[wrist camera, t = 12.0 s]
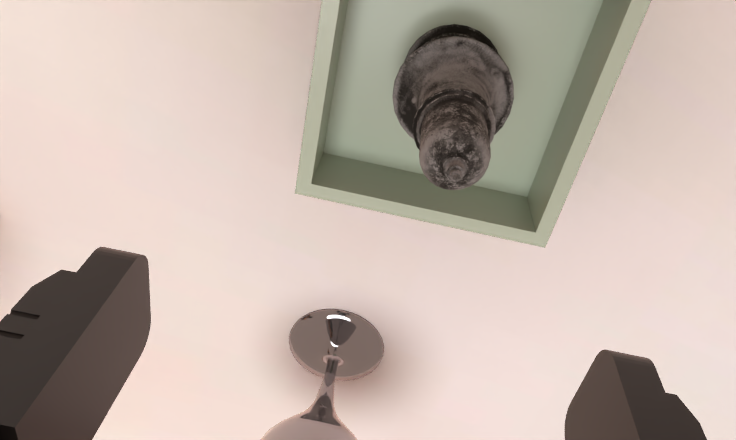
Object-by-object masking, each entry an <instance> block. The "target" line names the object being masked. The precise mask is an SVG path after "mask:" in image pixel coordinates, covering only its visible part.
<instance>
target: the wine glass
mask: <svg viewBox="0 0 736 440" xmlns="http://www.w3.org/2000/svg"><path fill="white" fill-rule="evenodd" d="M289 344H290V349H291V351H292V354H293V356H294V357H295V359H296V360H297V361H298V362H299V363H300V364H301V365H302V366H303V367H304V368H305V369H307V370H308V371H310V372H311V373H313V374H315V375H318V376H320V377H323V381H322V384H321V387H320V389H319V392H318V394H317V397H316V399H315V401H314V402H313V404H312V405H311V406H310V407H309V408H308V409H306V410H305V411H304V412H301V413H299V414H297V415H294V416H292V417H290V418H287V419H285V420H283V421H281V422H280V423H278V424H277V425H275V426H274V427H272V428H271V429H269V430H268V431H267V432H266V433H265V435H264V436H263V437H262V438H261V439H260V440H357V438H356V437H355V435H354V434H353V433H352V432H351V431H350V430H349V429H348V428H347V427H346V426H345V425H344V423H343V422H342V421H341V420H340V419H339V418H338V416H337V414H336V412H335V409H334V383H335V380H342V381H346V380H354V379H358V378H361V377H363V376H366V375H367V374H369V373H371V372H372V371H373V370H374V369H375V368H376V367H377V366H378V365H379V363H380V362H381V360H382V357H383V353H384V345H383V341H382V338H381V336H380V334H379V333H378V331H377V330H376V329H375V327H374V326H373V325H372V324H370V323H369V322H368V321H367V320H365V319H364V318H362V317H360V316H358V315H356V314H354V313H351V312H347V311H344V310H337V309H324V310H318V311H314V312H311V313H309V314H307V315H305V316H303V317H302V318H300V319H299V320H298V321H297V322H296V323H295V324H294V326H293V328H292V329H291V332H290V336H289Z"/></svg>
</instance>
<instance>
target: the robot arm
mask: <svg viewBox="0 0 736 440" xmlns="http://www.w3.org/2000/svg"><path fill="white" fill-rule="evenodd" d="M150 323H151V313H150V290H149V268H148V260H147V258H146V256H144V255H140V254H135V253H130V252H126V251H121V250H116V249H111V248H106V247H99V248H97V249H96V250H95V251H94V252H93V253H92V254H91V256H90V257H89V258H88V259H87V260H86V262H85V263H84V264H83V265H82V266H81V268H80V269H79V270H78V271H77V272H71V271H66V270H60V271H58V272H57V273H55V274H53V275H52V276H50V277H48V278H46V279H45V280H43V281H41V282H39V283H38V284H36V285H34V286H32V287H31V288H30V289H29V291H28V292H27V293H26V294H25V295H24V296H23V297H22V298H21V299H20V300H19V302H18V303H17V304H16V305H15V306H14V307H13V308H12V309H11V313H10V315H8V314H7V315H6V316H5V317H4V318H3V319H2V320H1V322H0V440H92V439H93V437H94V435H95V434H96V432H97V430H98V428H99V427H100V425H101V423H102V421H103V420H104V418H105V416H106V415H107V413H108V411H109V409H110V408H111V406H112V404H113V402H114V401H115V399H116V397H117V395H118V394H119V392H120V390H121V389H122V387H123V385H124V383H125V382H126V380H127V378H128V376H129V375H130V373H131V371H132V370H133V368H134V366H135V364H136V363H137V361H138V359H139V357H140V356H141V354H142V352H143V350H144V347H145V345H146V342H147V339H148V335H149V330H150ZM565 440H707V439H706V437H705V434H704V432H703V430H702V427H701V425H700V423H699V422H698V420H697V419H696V418H695V417H694V416H693V414H692V413H691V412H690V411H689V409H688V408H687V407H686V406H685V405H684V403H683V402H682V401H681V400H680V399H679V397H678V396H677V395H674V394H669V393H665V391H664V388H663V386H662V383H661V381H660V378H659V376H658V373H657V371H656V368H655V366H654V364H653V363H652V361H651V360H650V359H648V358H644V357H639V356H634V355H629V354H624V353H619V352H614V351H610V350H602V351H601V352H599V354H598V355H597V356H596V358H595V360H594V361H593V363H592V365H591V367H590V369H589V371H588V372H587V374H586V376H585V378H584V380H583V381H582V383H581V385H580V387H579V389H578V391H577V392H576V394H575V396H574V398H573V400H572V401H571V403H570V405H569V408H568V411H567V415H566V420H565Z"/></svg>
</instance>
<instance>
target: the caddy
mask: <svg viewBox="0 0 736 440" xmlns="http://www.w3.org/2000/svg"><path fill="white" fill-rule="evenodd" d="M650 2H651V0H322V3H321V11H320V18H319V25H318V32H317V39H316V46H315V53H314V61H313V68H312V75H311V82H310V89H309V96H308V103H307V111H306V118H305V125H304V132H303V139H302V146H301V153H300V161H299V168H298V175H297V182H296V189H295V194H300V195H305V196H309V197H314V198H318V199H323V200H328V201H332V202H337V203H342V204H346V205H351V206H355V207H360V208H365V209H369V210H374V211H378V212H383V213H388V214H392V215H397V216H401V217H406V218H411V219H415V220H420V221H424V222H429V223H434V224H438V225H443V226H448V227H452V228H457V229H461V230H466V231H471V232H475V233H480V234H484V235H489V236H494V237H498V238H503V239H507V240H512V241H517V242H521V243H526V244H530V245H535V246H540V247H544V248H545V247H546V244H547V242H548V240H549V237H550V235H551V233H552V230H553V228H554V226H555V223H556V221H557V219H558V217H559V214H560V212H561V210H562V207H563V205H564V203H565V200H566V198H567V196H568V193H569V191H570V189H571V186H572V184H573V182H574V179H575V177H576V175H577V172H578V170H579V168H580V165H581V163H582V161H583V158H584V156H585V154H586V151H587V149H588V147H589V144H590V142H591V140H592V137H593V135H594V133H595V130H596V128H597V126H598V123H599V121H600V119H601V116H602V114H603V112H604V109H605V107H606V105H607V102H608V100H609V98H610V95H611V93H612V91H613V88H614V86H615V84H616V81H617V79H618V77H619V74H620V72H621V70H622V67H623V65H624V63H625V61H626V58H627V56H628V54H629V51H630V49H631V47H632V44H633V42H634V40H635V37H636V35H637V33H638V30H639V28H640V26H641V23H642V21H643V19H644V16H645V14H646V12H647V9H648V7H649V5H650ZM451 24H458V25H465V26H469V27H471V28H474V29H476V30H478V31H480V32H481V33H483V34H484V35H485V36H486V37H487V38H489V39H490V40H491V42H492V43H493V45H494V46H495V48H496V49H497V51H498V54H499V55H500V56H501V58H502V59H503V61H504V62H505V63H506V65H507V66H508V68H509V71H510V74H511V77H512V80H513V83H514V100H513V104H512V108H511V112H510V115H509V116H508V118H507V120H506V122H505V123H504V125H503V127H502V128H501V129H500V130H499V131H498V132H497V133H496V134H495V135H494V138H493V141H492V142H491V144H490V148H491V158H490V162H489V166H488V169H487V170H486V172H485V174H484V176H483V177H482V178H481V179H480V180H479V181H478V182H476V183H475V184H473V185H472V186H470V187H467V188H464V189H460V190H447V189H443V188H440V187H437V186H435V185H434V184H433V183H431V182H430V181H429V180H428V179H427V178H426V176H425V175H424V173H423V171H422V168H421V166H420V161H419V149H418V148H417V146H416V143H415V141H414V139H413V138H411V137H410V136H409V135H408V134H407V133H406V131H405V130H404V129H403V128H402V126H401V125H400V123H399V121H398V118H397V116H396V114H395V112H394V105H393V98H392V95H393V88H394V81H395V79H396V76H397V74H398V72H399V69H400V67H401V66H402V64H403V63H404V61H405V58H406V56H407V54H408V51H409V49H410V48H411V47H412V45H413V44H414V43H415V42H416V40H417V39H418V38H420V37H421V36H422V35H424V34H425V33H426V32H428V31H429V30H432V29H434V28H437V27H439V26H443V25H451Z"/></svg>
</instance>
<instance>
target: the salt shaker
mask: <svg viewBox="0 0 736 440" xmlns="http://www.w3.org/2000/svg"><path fill="white" fill-rule="evenodd" d="M392 98H393V105H394V112H395V114H396V116H397V118H398V121H399V123H400V125H401V126H402V128H403V129H404V130H405V131H406V133H407V134H408V135H409V136H410V137H411V138H413V139H414V141H415V143H416V146H417V148H418V149H419V161H420V166H421V168H422V171H423V173H424V175H425V176H426V178H427V179H428V180H429V181H430V182H431V183H433V184H434V185H435V186H437V187H440V188H443V189H447V190H460V189H464V188H467V187H470V186H472V185H473V184H475V183H476V182H478V181H479V180H480V179H481V178H482V177H483V176H484V174H485V172H486V170H487V169H488V166H489V162H490V158H491V148H490V144H491V142H492V141H493V138H494V135H495V134H496V133H497V132H498V131H499V130H500V129H501V128H502V127H503V125H504V123H505V122H506V120H507V118H508V116H509V115H510V112H511V108H512V104H513V100H514V83H513V80H512V77H511V74H510V71H509V68H508V66H507V65H506V63H505V62H504V61H503V59H502V58H501V56H500V55H499V54H498V51H497V49H496V48H495V46H494V45H493V43H492V42H491V40H490V39H489V38H487V37H486V36H485V35H484V34H483V33H481V32H480V31H478V30H476V29H474V28H471V27H469V26H465V25H458V24H451V25H443V26H439V27H437V28H434V29H432V30H429V31H428V32H426V33H425V34H424V35H422V36H421V37H420V38H418V39H417V40H416V42H415V43H414V44H413V45H412V47H411V48H410V49H409V51H408V54H407V56H406V58H405V61H404V63H403V64H402V66H401V67H400V69H399V72H398V74H397V76H396V79H395V81H394V88H393V95H392Z"/></svg>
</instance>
